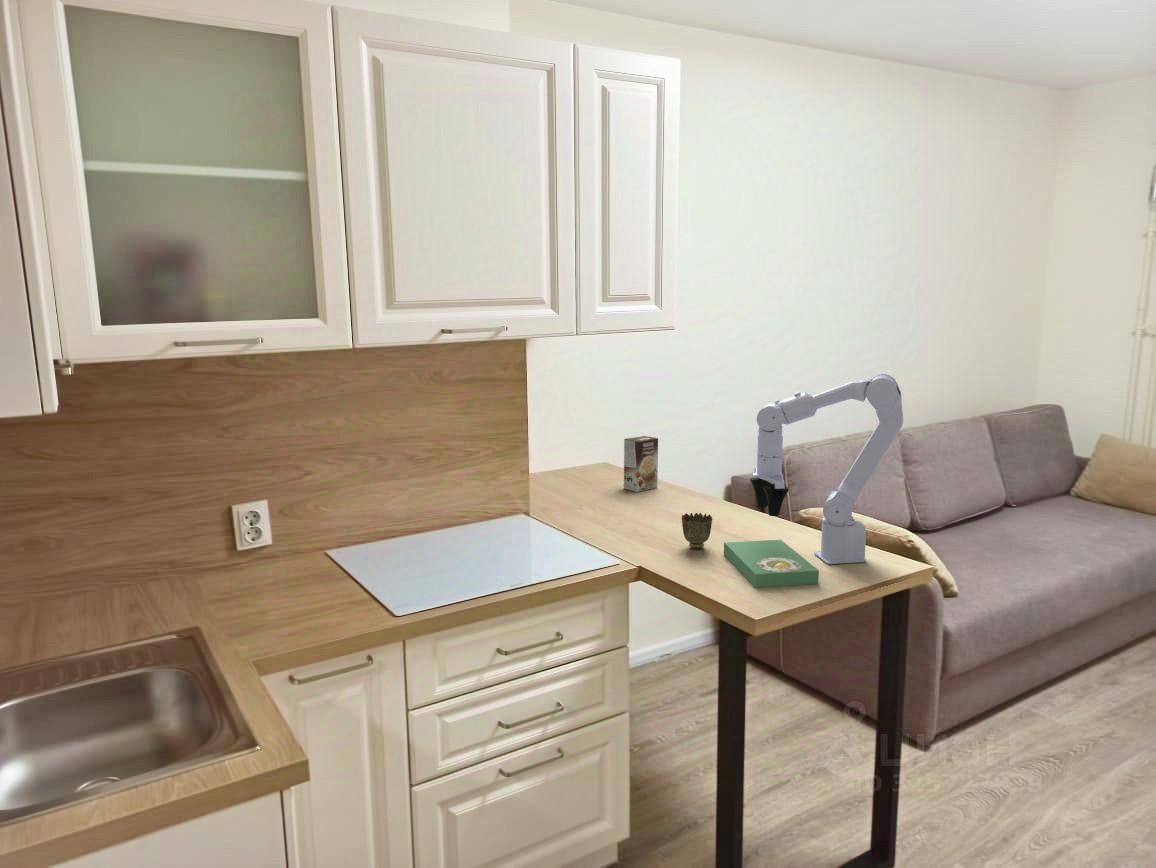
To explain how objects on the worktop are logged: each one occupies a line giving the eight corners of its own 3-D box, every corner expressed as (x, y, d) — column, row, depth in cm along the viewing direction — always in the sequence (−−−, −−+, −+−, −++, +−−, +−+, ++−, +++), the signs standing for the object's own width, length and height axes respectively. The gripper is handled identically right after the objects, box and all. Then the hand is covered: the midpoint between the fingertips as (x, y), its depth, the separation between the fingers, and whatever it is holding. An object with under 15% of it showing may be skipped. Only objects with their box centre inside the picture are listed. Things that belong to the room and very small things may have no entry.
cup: (711, 553, 198) (711, 521, 197) (680, 552, 200) (680, 519, 198) (712, 544, 205) (713, 512, 204) (682, 542, 207) (682, 511, 205)
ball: (790, 564, 182) (783, 557, 180) (794, 578, 180) (787, 572, 177) (775, 570, 184) (768, 563, 181) (779, 584, 181) (771, 578, 179)
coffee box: (637, 492, 257) (637, 441, 254) (623, 488, 261) (623, 438, 259) (658, 487, 262) (658, 437, 259) (644, 484, 267) (644, 435, 264)
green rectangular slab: (780, 551, 199) (780, 539, 199) (818, 583, 178) (818, 570, 177) (723, 554, 197) (724, 542, 197) (755, 587, 176) (755, 574, 175)
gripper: (743, 450, 202) (741, 504, 204) (764, 462, 188) (762, 520, 190) (771, 448, 203) (769, 502, 205) (794, 461, 189) (791, 518, 191)
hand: (768, 511), depth 198 cm, fingers open, 7 cm apart
